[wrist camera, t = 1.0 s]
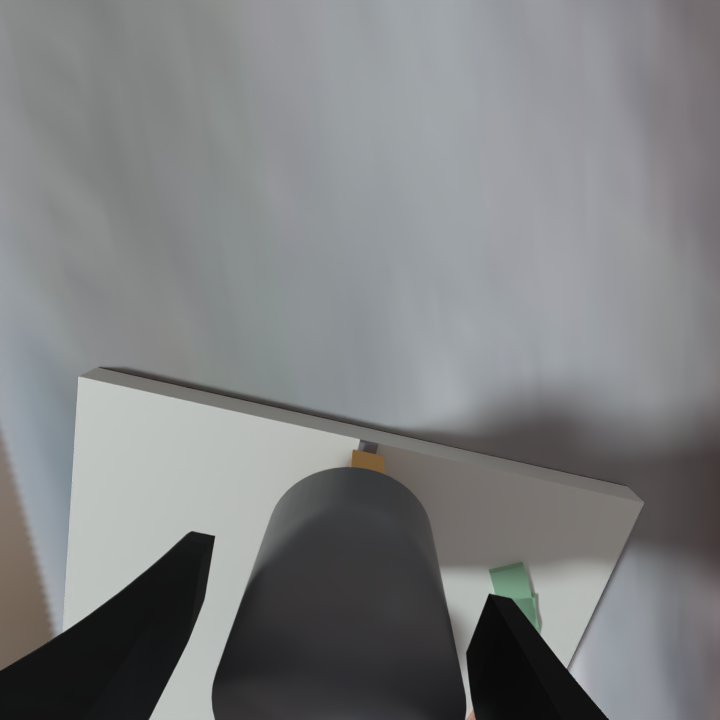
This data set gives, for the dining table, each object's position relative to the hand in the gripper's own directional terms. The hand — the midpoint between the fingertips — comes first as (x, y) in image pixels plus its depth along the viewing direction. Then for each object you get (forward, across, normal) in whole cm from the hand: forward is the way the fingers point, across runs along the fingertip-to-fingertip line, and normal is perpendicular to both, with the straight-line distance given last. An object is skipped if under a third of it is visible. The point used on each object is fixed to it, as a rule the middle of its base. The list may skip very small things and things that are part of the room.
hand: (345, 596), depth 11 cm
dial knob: (+3, 0, +3) cm, 5 cm away
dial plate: (+5, 0, +6) cm, 8 cm away
